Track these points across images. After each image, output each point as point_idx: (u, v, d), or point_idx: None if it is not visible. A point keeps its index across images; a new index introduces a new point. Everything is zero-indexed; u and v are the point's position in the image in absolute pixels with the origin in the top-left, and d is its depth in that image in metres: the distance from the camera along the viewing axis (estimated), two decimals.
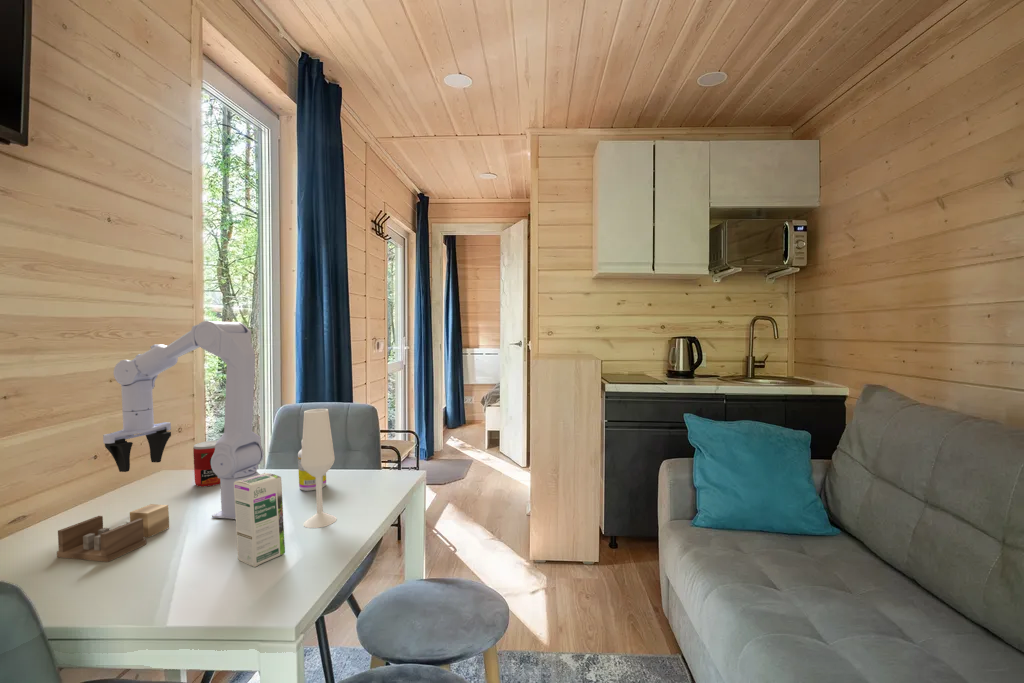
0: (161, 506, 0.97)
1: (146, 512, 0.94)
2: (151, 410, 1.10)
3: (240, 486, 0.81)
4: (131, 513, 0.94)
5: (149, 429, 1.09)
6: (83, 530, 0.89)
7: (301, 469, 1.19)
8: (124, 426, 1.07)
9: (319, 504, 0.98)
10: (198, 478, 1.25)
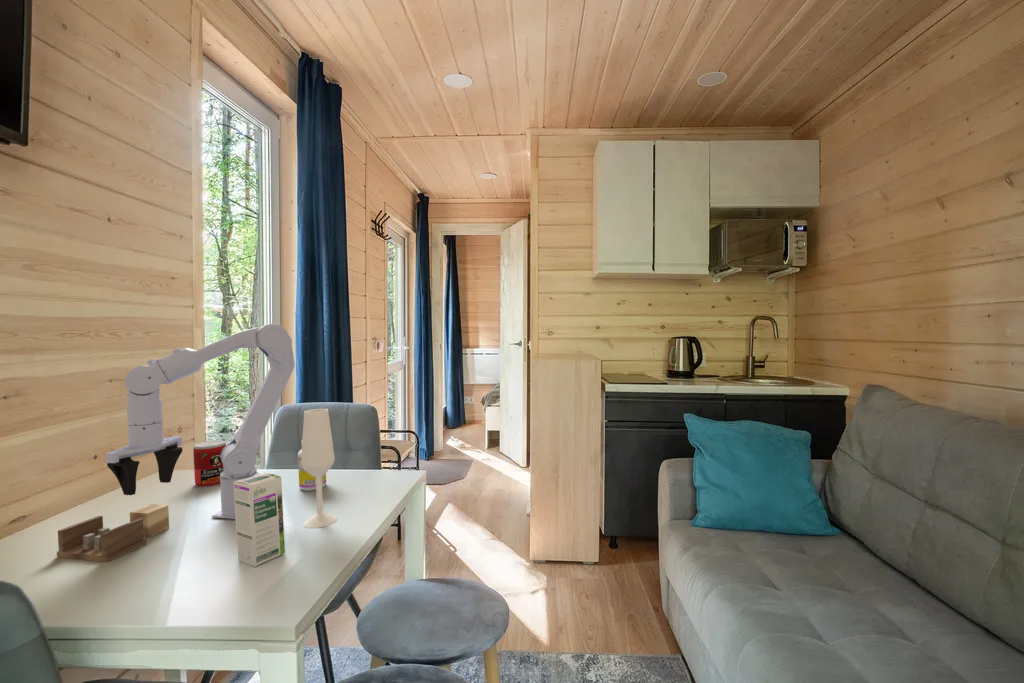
0: (161, 506, 0.97)
1: (146, 512, 0.94)
2: (161, 423, 0.96)
3: (240, 486, 0.81)
4: (131, 513, 0.94)
5: (158, 445, 0.95)
6: (83, 530, 0.89)
7: (301, 469, 1.19)
8: (130, 442, 0.93)
9: (319, 504, 0.98)
10: (198, 478, 1.25)
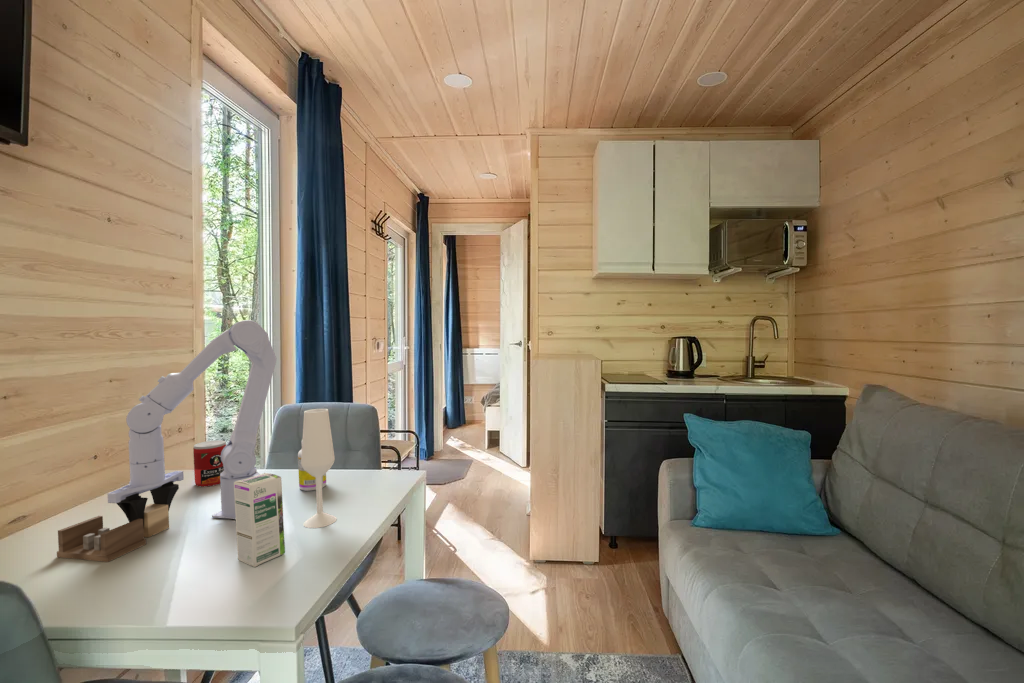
0: (161, 506, 0.97)
1: (146, 512, 0.94)
2: (162, 460, 0.96)
3: (240, 486, 0.81)
4: None
5: (160, 483, 0.95)
6: (83, 530, 0.89)
7: (301, 469, 1.19)
8: (131, 480, 0.93)
9: (319, 504, 0.98)
10: (198, 478, 1.25)
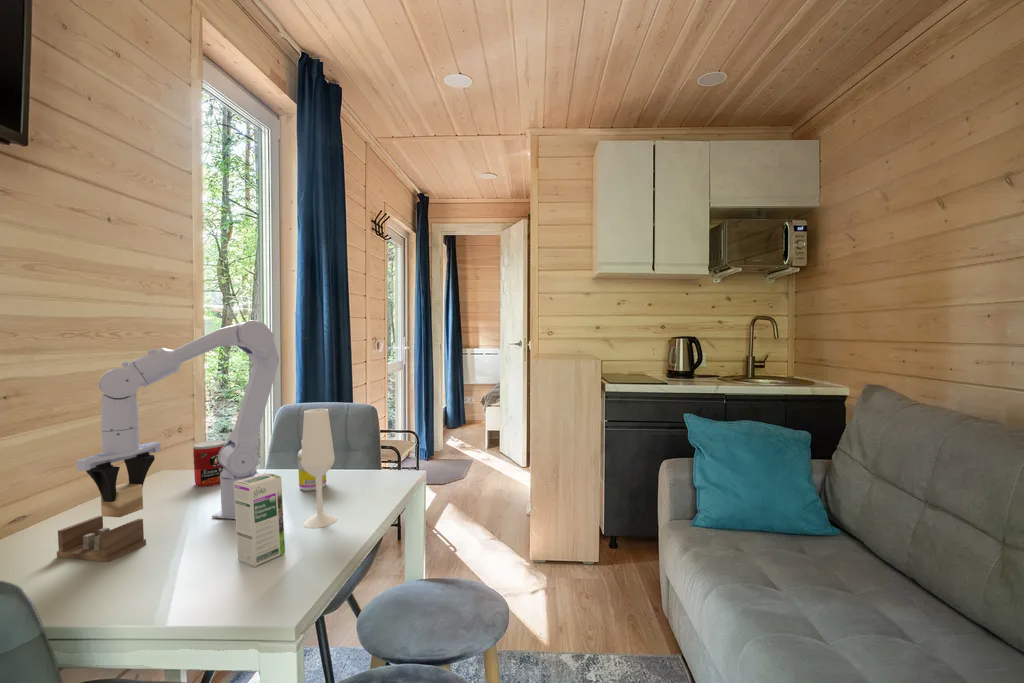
0: (134, 485, 0.93)
1: (118, 490, 0.89)
2: (137, 428, 0.92)
3: (240, 486, 0.81)
4: None
5: (133, 452, 0.91)
6: (83, 530, 0.89)
7: (301, 469, 1.19)
8: (103, 448, 0.89)
9: (319, 504, 0.98)
10: (198, 478, 1.25)
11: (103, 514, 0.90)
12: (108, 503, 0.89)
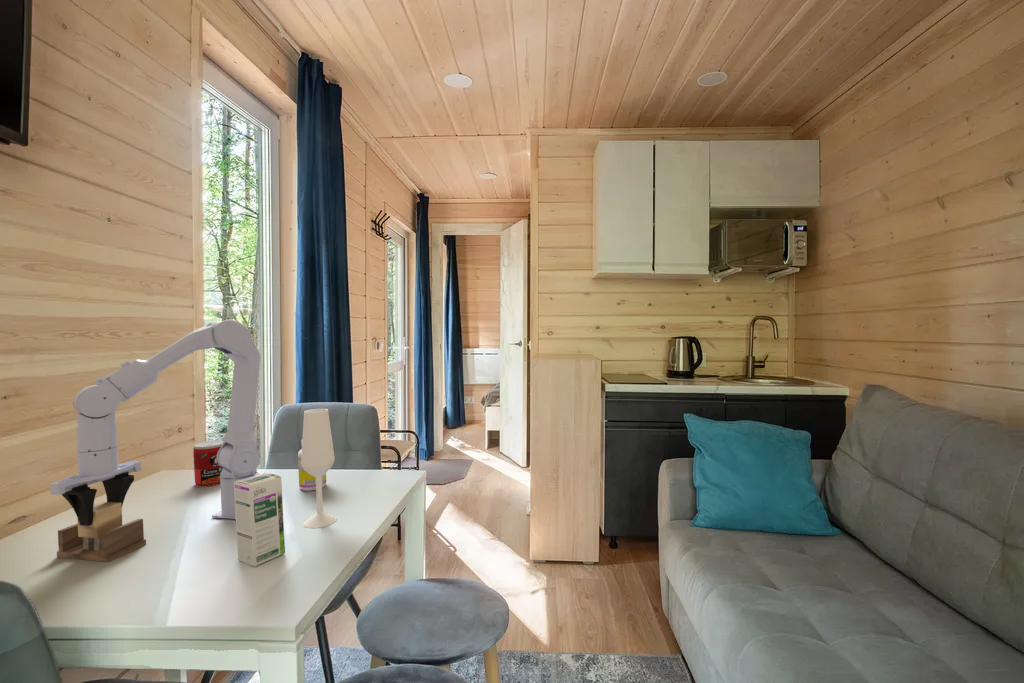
0: (113, 504, 0.89)
1: (95, 510, 0.86)
2: (115, 448, 0.88)
3: (240, 486, 0.81)
4: None
5: (112, 473, 0.87)
6: None
7: (301, 469, 1.19)
8: (79, 470, 0.85)
9: (319, 504, 0.98)
10: (198, 478, 1.25)
11: (80, 535, 0.86)
12: None
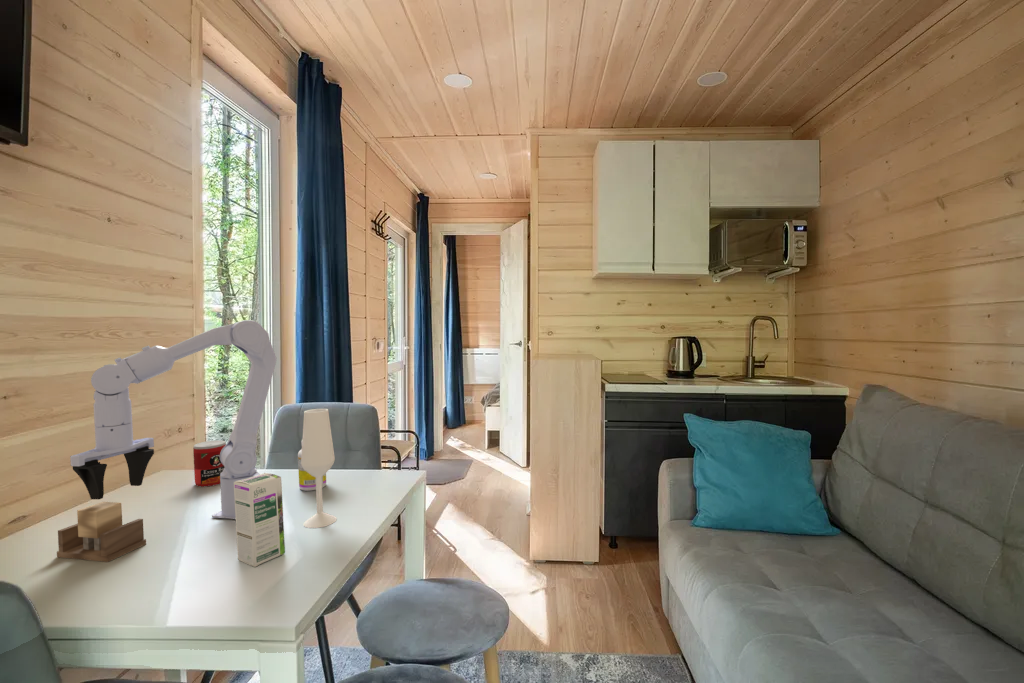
0: (113, 504, 0.89)
1: (95, 510, 0.86)
2: (130, 424, 0.93)
3: (240, 486, 0.81)
4: (79, 511, 0.86)
5: (127, 447, 0.92)
6: None
7: (301, 469, 1.19)
8: (97, 444, 0.90)
9: (319, 504, 0.98)
10: (198, 478, 1.25)
11: (80, 535, 0.86)
12: (85, 523, 0.86)
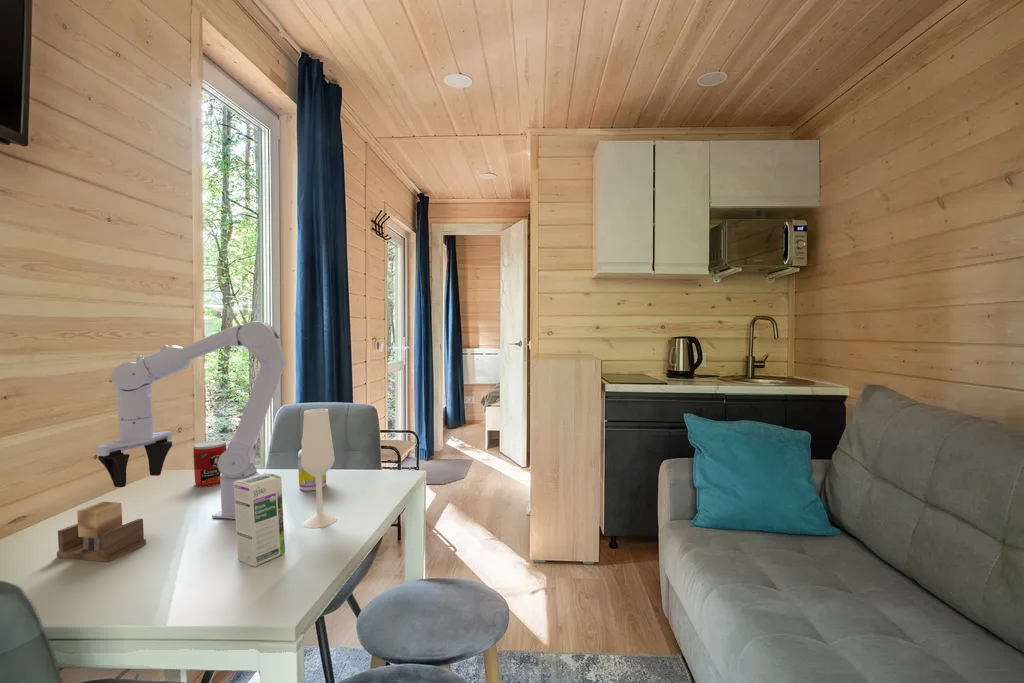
0: (113, 504, 0.89)
1: (95, 510, 0.86)
2: (151, 418, 0.99)
3: (240, 486, 0.81)
4: (79, 511, 0.86)
5: (148, 439, 0.98)
6: None
7: (301, 469, 1.19)
8: (120, 436, 0.96)
9: (319, 504, 0.98)
10: (198, 478, 1.25)
11: (80, 535, 0.86)
12: (85, 523, 0.86)
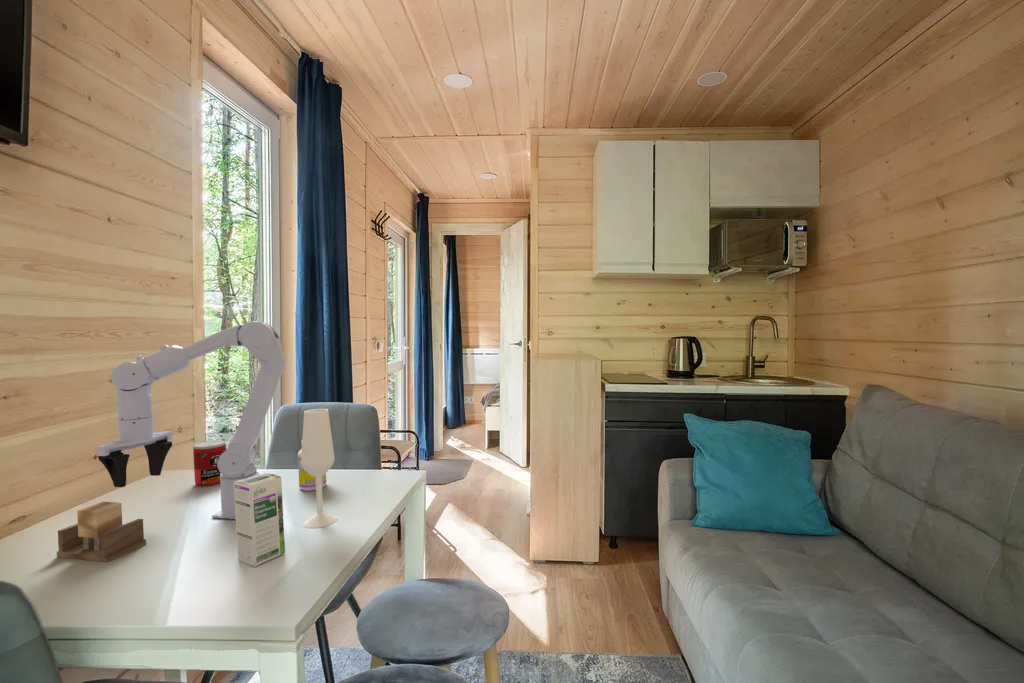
0: (113, 504, 0.89)
1: (95, 510, 0.86)
2: (151, 418, 0.99)
3: (240, 486, 0.81)
4: (79, 511, 0.86)
5: (148, 439, 0.98)
6: None
7: (301, 469, 1.19)
8: (120, 436, 0.96)
9: (319, 504, 0.98)
10: (198, 478, 1.25)
11: (80, 535, 0.86)
12: (85, 523, 0.86)
